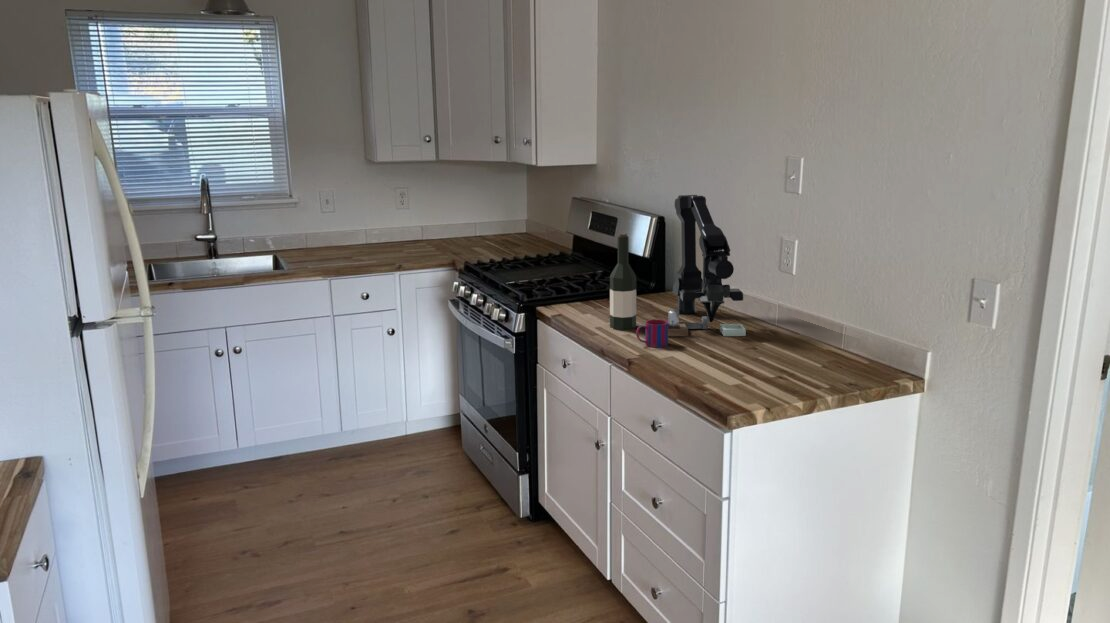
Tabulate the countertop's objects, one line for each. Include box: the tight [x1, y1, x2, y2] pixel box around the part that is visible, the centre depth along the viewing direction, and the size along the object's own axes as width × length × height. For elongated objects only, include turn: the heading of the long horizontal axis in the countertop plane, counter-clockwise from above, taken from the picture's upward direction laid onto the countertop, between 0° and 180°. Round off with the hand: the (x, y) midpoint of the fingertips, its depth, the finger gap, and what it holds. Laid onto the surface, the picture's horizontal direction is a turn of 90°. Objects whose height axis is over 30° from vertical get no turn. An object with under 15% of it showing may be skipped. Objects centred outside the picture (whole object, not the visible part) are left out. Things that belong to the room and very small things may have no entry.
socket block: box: [668, 320, 689, 337], centre depth 254 cm, size 11×8×2 cm
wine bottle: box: [609, 232, 637, 331], centre depth 257 cm, size 8×8×30 cm
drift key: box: [679, 315, 709, 330], centre depth 257 cm, size 3×12×3 cm, turn 89°
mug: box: [635, 318, 669, 348], centre depth 240 cm, size 7×10×7 cm
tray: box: [719, 323, 747, 337], centre depth 251 cm, size 7×7×2 cm
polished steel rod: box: [667, 309, 680, 329], centre depth 252 cm, size 3×3×7 cm
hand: (710, 321), depth 257 cm, fingers closed
